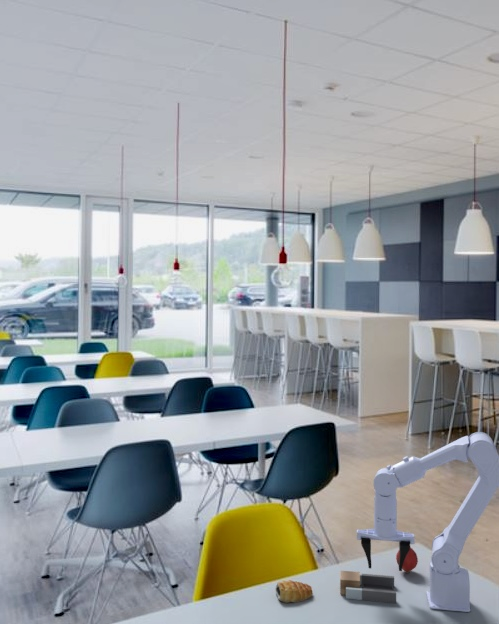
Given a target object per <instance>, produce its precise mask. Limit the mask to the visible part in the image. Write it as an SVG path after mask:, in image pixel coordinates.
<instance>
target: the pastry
mask: <svg viewBox="0 0 499 624" xmlns="http://www.w3.org/2000/svg"><path fill="white" fill-rule="evenodd" d="M276 583H277V584H276V585H275V592H276V597H277V599H278V600H279V601H280V602H283V603H285V604H287V603H288V604H289V603H291V602H292V603H298V602H301V601H305V600H309V599H310V598H311V597H312V596H313V594H314V593H313V589H312V588H313V587H312V586H311V585H309V584H307V583H303V582H300V581H294V580H288V581H287V580H282V581H278V582H276Z"/></svg>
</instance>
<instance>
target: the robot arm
mask: <svg viewBox="0 0 499 624" xmlns="http://www.w3.org/2000/svg"><path fill="white" fill-rule="evenodd" d="M468 459H469V460H470V461H471V462H472V464H473V465H474V466H475V467H476V470H477V472H478V477H477V479H476V480H475V481H474V484H473V485H472V486H471V488H470V490H469V492H468V493H467V495H466V496H465V498H464V500H463V502H462V503H461V505H460V507H459V508H458V510H457V512H456V513H455V515H454V517H453V518H452V520H451V521H450V523H449V524H448V526H446V527H445V528H444V529H443V531H442V532H441V533H440V534H439V535H437V536H435V537H434V538H433V540H432V543H431V548H432V549H431V550H432V551H431V553H432V554H431V561H430V562H429V590H426V598H427V601H428V606H429V609H432V610H443V611H453V612H463V613H469V612H471V609H470V607H471V606H470V604H471V601H470V598H471V594H470V593H471V592H470V591H471V590H470V589H471V587H470V586H471V585H470V584H471V583H470V574H469V570H468V569H467V568H464V567H461V566H460V565H459V560H460V559H459V558H460V555H461V554H462V553H463V550H464V547H465V543H466V541H467V539H468V537H469V535H470V534H471V533H472V531H473V529H474V527H475V526H476V524H477V523H478V521H479V519H480V518H481V516H482V515H483V513H484V511H485V509H486V508H487V506H488V505H489V503H490V502H491V500H492V498H493V497H494V496H495V494H496V492H497V490H498V489H499V453H498V449H497V446H496V445H495V443H494V440H493V439H492V437H491V436H490V435H489V434H487V432H486V433H485V432H483V431H476V432H474V433H471V434H470V435H465V436H462V437H460V438H458V439H457V440H456V439H455V440H454V441H452V442H450V443H448V444H446V445H444V446H442V447H440V448H438V449H436V450H434V451H432V452H430V453H428V454H426V455H424V456H423V457H416V456H413V455H412V456H410V457H409V456H408V455H406V456H404V457H403V458H402V461H400V462H397V463H396V464H393V465H391V464H388V465H387V466H386V467H382V468H381V469H379V470H377V472H376V473H375V476H374V479H373V488H374V499H373V502H374V503H373V510H374V511H373V528H369V529H356V540H357V541H360V544H361V547H362V549H363V551H364V554H365V557H366V560H367V564H368V569H372V554H371V553H372V552H371V551H372V545H371V544H372V541H386V542H396V543H397V542H398V551H399V565H398V571H399V572H402V571H403V569H402V567H403V563H404V560H405V558H406V555H407V554H408V552H409V550H410V547H411V545H414V544H415V534H414V533H412V532H411V533H410V532H404V531H400V530H397V529H398V528H397V527H398V520H397V519H398V517H397V516H398V515H397V514H398V508H397V507H398V506H397V505H398V500H397V489H398V488H403V487H405V486H408V485H410V484H412V483H414V482H417V481H419V480H421V479H423V478H424V477H425V476H426V472H428V471H429V470H431V469H434V468H437V467H440V466H441V465H445V464H447V463H450V462H452V461H455V460H457V461H459V462H463V463H469V460H468ZM371 540H372V541H371Z"/></svg>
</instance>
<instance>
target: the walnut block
mask: <svg viewBox="0 0 499 624" xmlns="http://www.w3.org/2000/svg"><path fill="white" fill-rule="evenodd" d="M360 574H361V573H360V571H349V570H340V583H339V585H340V586H339V591H340V595H343V596H344V595H345V596H346V587H353V588H361V584H360Z"/></svg>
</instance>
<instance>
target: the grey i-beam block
mask: <svg viewBox="0 0 499 624" xmlns="http://www.w3.org/2000/svg"><path fill="white" fill-rule="evenodd" d="M360 586H363V588H362V587H360V588H353V587H346V595H345V600H346V599H348V600H358V601H359V600H360V601H369V602H379V603H389V604H390V603H393V604H397V591H396V590H395V591H394V589H393V588H395V576H394V575H383V574H382V575H381V574H373V573H372V574H370V573H360Z"/></svg>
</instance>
